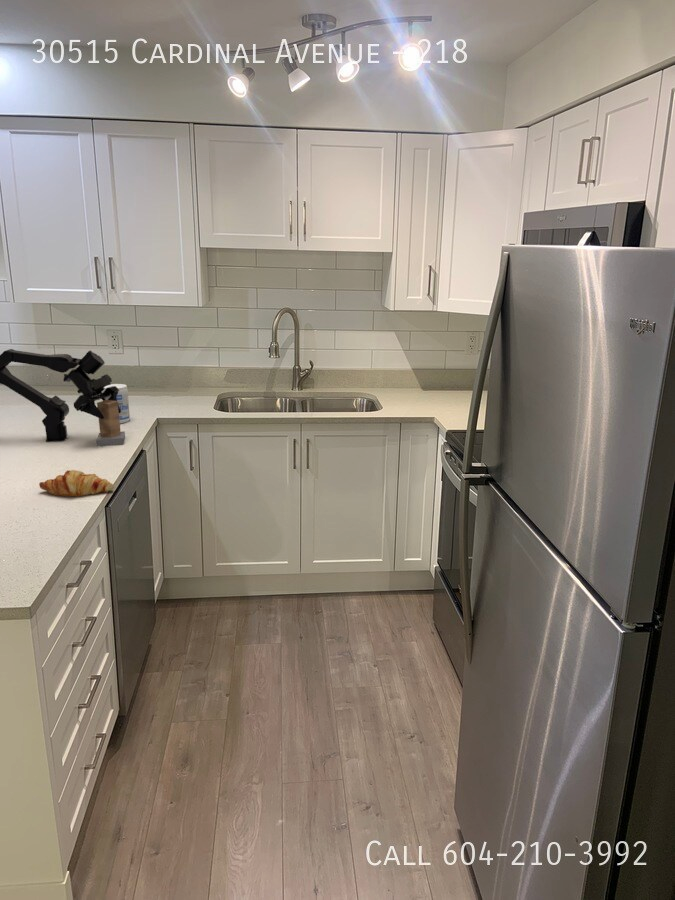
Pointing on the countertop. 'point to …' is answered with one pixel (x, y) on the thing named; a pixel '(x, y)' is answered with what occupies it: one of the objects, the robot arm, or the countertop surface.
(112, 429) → the walnut pillar
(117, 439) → the light grey plinth
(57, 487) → the croissant
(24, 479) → the countertop surface
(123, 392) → the supplement tub
